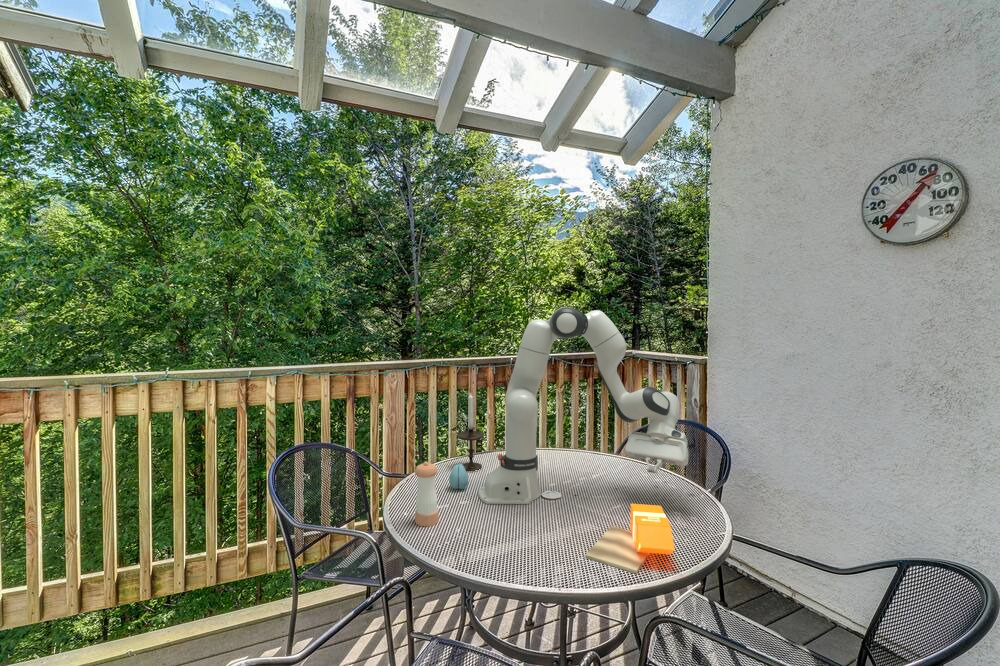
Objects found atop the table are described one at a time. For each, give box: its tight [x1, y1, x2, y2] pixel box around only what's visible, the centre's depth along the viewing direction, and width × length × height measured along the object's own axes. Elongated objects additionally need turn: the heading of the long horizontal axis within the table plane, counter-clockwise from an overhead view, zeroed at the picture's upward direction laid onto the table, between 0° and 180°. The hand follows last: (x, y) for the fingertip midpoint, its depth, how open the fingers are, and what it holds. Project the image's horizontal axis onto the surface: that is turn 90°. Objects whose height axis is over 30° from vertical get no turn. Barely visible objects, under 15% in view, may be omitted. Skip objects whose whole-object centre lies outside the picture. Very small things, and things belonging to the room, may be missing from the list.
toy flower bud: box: [448, 463, 469, 490], centre depth 178 cm, size 7×9×12 cm
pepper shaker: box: [414, 461, 439, 527], centre depth 149 cm, size 7×7×19 cm
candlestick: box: [457, 386, 485, 471], centre depth 197 cm, size 11×11×35 cm
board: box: [585, 525, 651, 575], centre depth 132 cm, size 20×14×1 cm
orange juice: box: [629, 503, 676, 555], centre depth 132 cm, size 8×9×20 cm
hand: (651, 471), depth 154 cm, fingers closed
